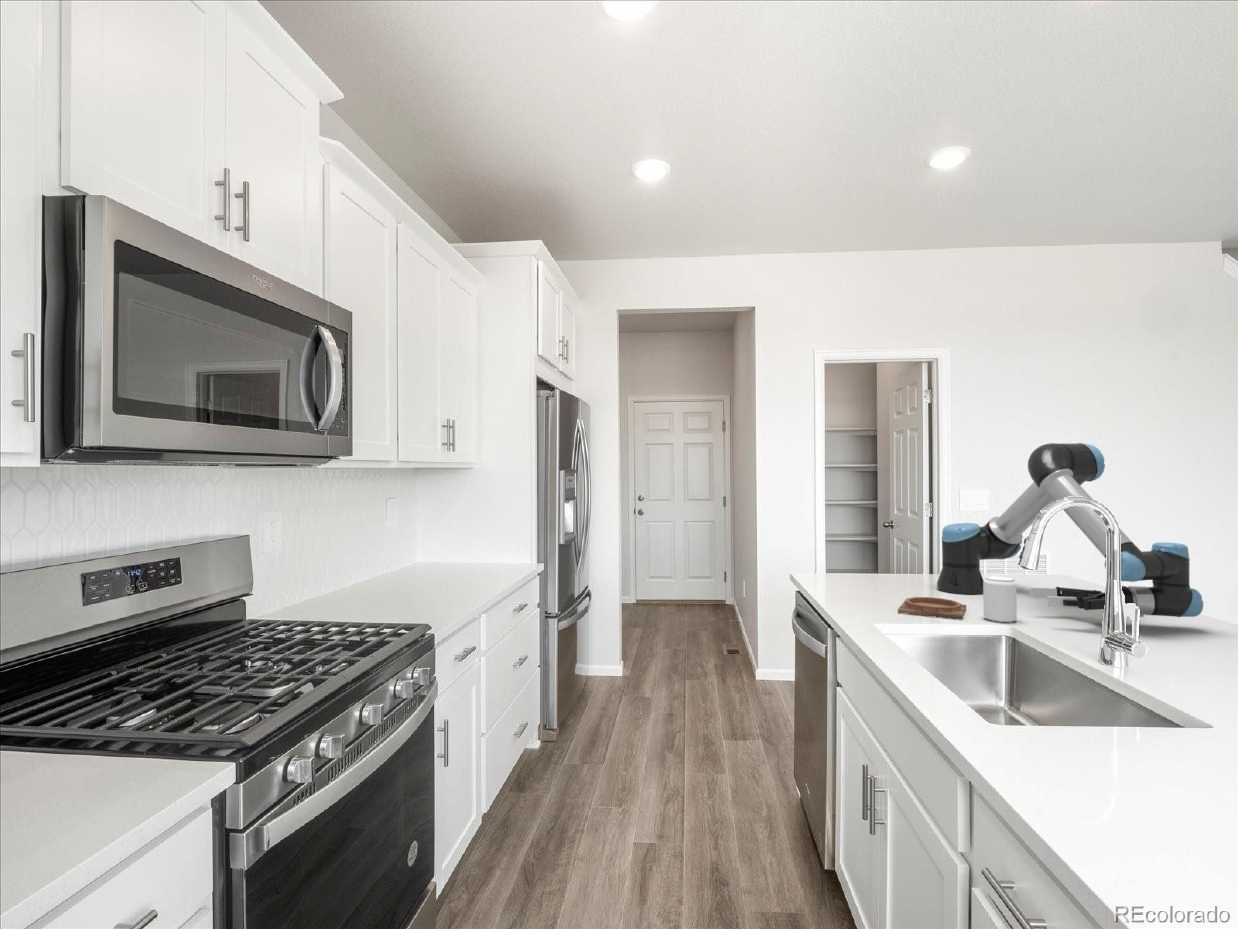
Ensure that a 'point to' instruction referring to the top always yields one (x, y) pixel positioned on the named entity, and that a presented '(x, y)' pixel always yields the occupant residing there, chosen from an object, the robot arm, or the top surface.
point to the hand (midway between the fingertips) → (1039, 596)
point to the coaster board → (933, 607)
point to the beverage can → (1000, 598)
